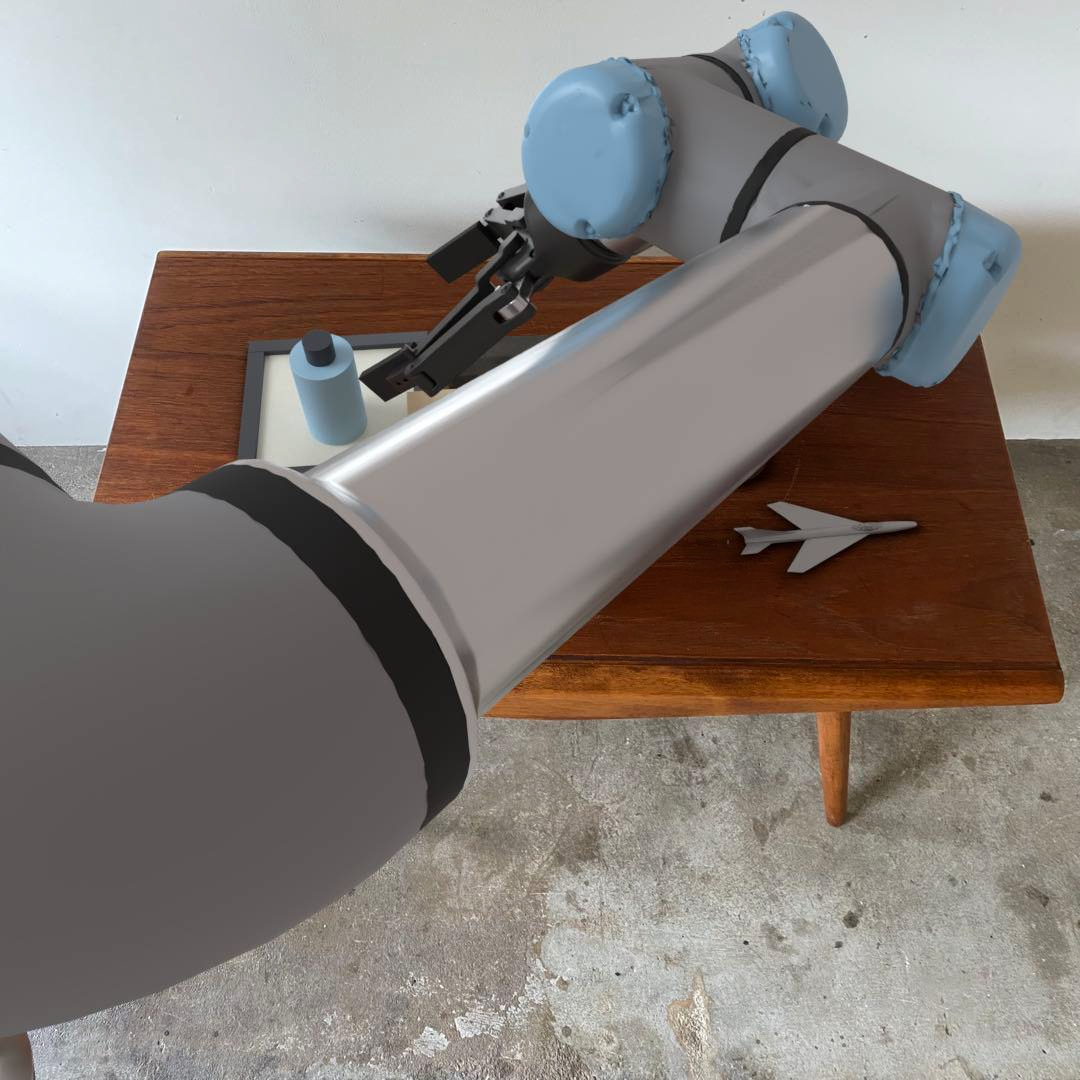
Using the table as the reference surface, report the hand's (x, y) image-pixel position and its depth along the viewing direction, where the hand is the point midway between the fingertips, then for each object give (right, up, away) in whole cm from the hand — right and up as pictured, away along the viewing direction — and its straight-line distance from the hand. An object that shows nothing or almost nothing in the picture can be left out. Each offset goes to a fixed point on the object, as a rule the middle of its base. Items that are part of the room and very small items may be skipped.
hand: (407, 325), depth 76 cm
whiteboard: (-9, -5, +18) cm, 21 cm away
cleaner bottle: (-9, -6, +16) cm, 20 cm away
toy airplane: (+34, -17, +11) cm, 40 cm away
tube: (+15, -3, +20) cm, 25 cm away
